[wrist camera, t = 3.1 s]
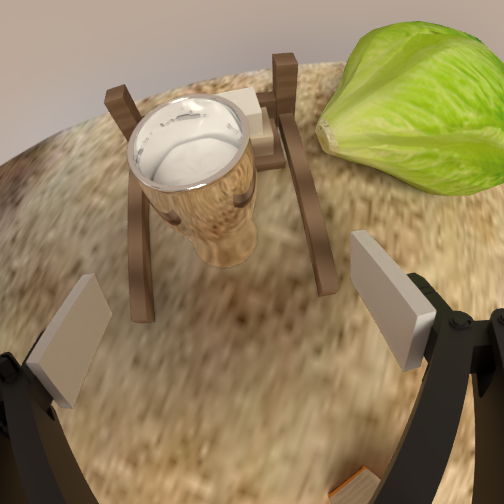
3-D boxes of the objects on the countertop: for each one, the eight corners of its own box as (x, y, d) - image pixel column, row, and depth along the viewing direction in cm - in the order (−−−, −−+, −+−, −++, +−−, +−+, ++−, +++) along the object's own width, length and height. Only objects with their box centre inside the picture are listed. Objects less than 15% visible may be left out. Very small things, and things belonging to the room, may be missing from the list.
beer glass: (217, 191, 30) (181, 78, 16) (276, 227, 29) (280, 118, 15) (174, 246, 29) (99, 159, 15) (232, 287, 27) (193, 222, 13)
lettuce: (273, 119, 33) (271, -13, 17) (431, 90, 34) (471, 1, 18) (347, 269, 27) (434, 169, 11) (504, 198, 29) (584, 125, 12)
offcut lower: (273, 154, 30) (273, 136, 27) (157, 175, 30) (148, 159, 27) (266, 125, 31) (265, 107, 28) (158, 145, 31) (149, 129, 28)
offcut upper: (262, 133, 27) (262, 112, 24) (159, 157, 27) (148, 138, 24) (254, 108, 28) (253, 86, 26) (157, 130, 28) (148, 111, 25)
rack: (337, 292, 27) (367, 267, 18) (138, 323, 27) (86, 311, 18) (289, 112, 33) (292, 52, 25) (136, 140, 33) (106, 90, 25)
